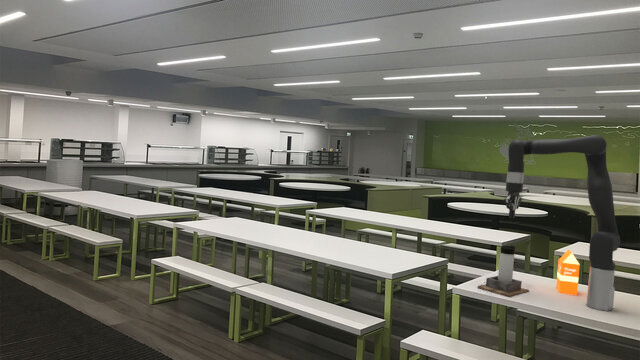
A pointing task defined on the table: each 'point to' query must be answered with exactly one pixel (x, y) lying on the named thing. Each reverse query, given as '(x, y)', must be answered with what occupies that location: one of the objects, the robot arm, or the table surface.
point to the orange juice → (568, 274)
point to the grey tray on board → (503, 287)
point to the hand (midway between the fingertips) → (511, 217)
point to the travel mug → (506, 264)
